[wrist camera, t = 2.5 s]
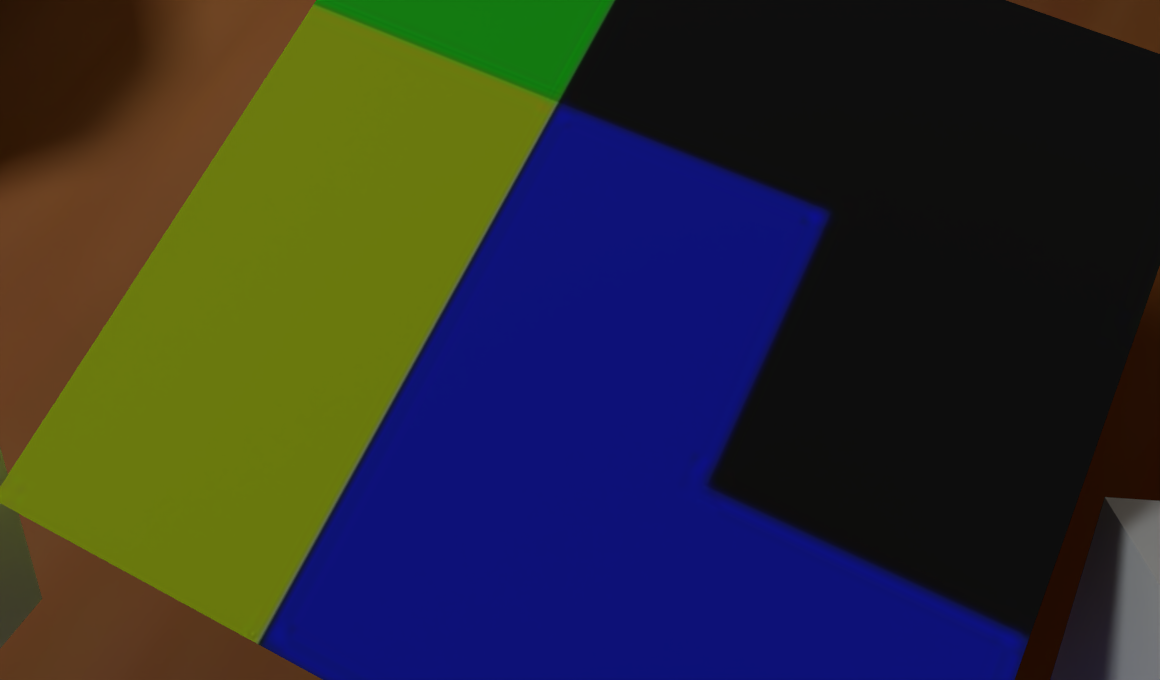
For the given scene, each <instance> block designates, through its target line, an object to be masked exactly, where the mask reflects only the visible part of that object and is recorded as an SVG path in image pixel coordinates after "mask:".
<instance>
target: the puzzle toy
mask: <svg viewBox="0 0 1160 680" xmlns="http://www.w3.org/2000/svg"><path fill="white" fill-rule="evenodd" d="M1159 266H1160V54H1158V53H1155V52H1152V51H1149V50H1146V49H1144V48H1141V47H1138V46H1135V45H1132V44H1129V43H1126V42H1124V41H1121V40H1118V39H1115V38H1112V37H1109V36H1106V35H1103V34H1101V33H1098V32H1095V31H1092V30H1089V29H1086V28H1083V27H1081V26H1078V25H1075V24H1072V23H1069V22H1066V21H1063V20H1060V19H1058V18H1055V17H1052V16H1049V15H1046V14H1043V13H1040V12H1037V11H1035V10H1032V9H1029V8H1026V7H1023V6H1020V5H1017V4H1015V3H1012V2H1009V1H1006V0H316V2H315V3H314V5H313V6H312V8H311V9H310V11H309V12H308V14H307V15H306V17H305V19H304V20H303V22H302V23H301V25H300V26H299V28H298V29H297V31H296V32H295V34H294V35H293V37H292V39H291V40H290V42H289V43H288V45H287V46H286V48H285V49H284V51H283V52H282V54H281V55H280V57H279V59H278V60H277V62H276V63H275V65H274V66H273V68H272V69H271V71H270V72H269V74H268V76H267V77H266V79H265V80H264V82H263V83H262V85H261V86H260V88H259V89H258V91H257V92H256V94H255V96H254V97H253V99H252V100H251V102H250V103H249V105H248V106H247V108H246V109H245V111H244V112H243V114H242V116H241V117H240V119H239V120H238V122H237V123H236V125H235V126H234V128H233V129H232V131H231V132H230V134H229V136H228V137H227V139H226V140H225V142H224V143H223V145H222V146H221V148H220V149H219V151H218V152H217V154H216V156H215V157H214V159H213V160H212V162H211V163H210V165H209V166H208V168H207V169H206V171H205V172H204V174H203V176H202V177H201V179H200V180H199V182H198V183H197V185H196V186H195V188H194V189H193V191H192V192H191V194H190V196H189V197H188V199H187V200H186V202H185V203H184V205H183V206H182V208H181V209H180V211H179V212H178V214H177V216H176V217H175V219H174V220H173V222H172V223H171V225H170V226H169V228H168V229H167V231H166V232H165V234H164V236H163V237H162V239H161V240H160V242H159V243H158V245H157V246H156V248H155V249H154V251H153V252H152V254H151V256H150V257H149V259H148V260H147V262H146V263H145V265H144V266H143V268H142V269H141V271H140V272H139V274H138V276H137V277H136V279H135V280H134V282H133V283H132V285H131V286H130V288H129V289H128V291H127V292H126V294H125V296H124V297H123V299H122V300H121V302H120V303H119V305H118V306H117V308H116V309H115V311H114V312H113V314H112V316H111V317H110V319H109V320H108V322H107V323H106V325H105V326H104V328H103V329H102V331H101V332H100V334H99V336H98V337H97V339H96V340H95V342H94V343H93V345H92V346H91V348H90V349H89V351H88V352H87V354H86V356H85V357H84V359H83V360H82V362H81V363H80V365H79V366H78V368H77V369H76V371H75V372H74V374H73V376H72V377H71V379H70V380H69V382H68V383H67V385H66V386H65V388H64V389H63V391H62V392H61V394H60V396H59V397H58V399H57V400H56V402H55V403H54V405H53V406H52V408H51V409H50V411H49V412H48V414H47V416H46V417H45V419H44V420H43V422H42V423H41V425H40V426H39V428H38V429H37V431H36V432H35V434H34V436H33V437H32V439H31V440H30V442H29V443H28V445H27V446H26V448H25V449H24V451H23V453H22V454H21V456H20V457H19V459H18V460H17V462H16V463H15V465H14V466H13V468H12V469H11V471H10V473H9V474H8V476H7V477H6V479H5V480H4V482H3V483H2V485H1V486H0V503H1V504H3V505H4V506H6V507H8V508H10V509H12V510H14V511H15V512H17V513H19V514H21V515H23V516H25V517H26V518H28V519H30V520H32V521H34V522H35V523H37V524H39V525H41V526H43V527H45V528H46V529H48V530H50V531H52V532H54V533H56V534H57V535H59V536H61V537H63V538H65V539H67V540H68V541H70V542H72V543H74V544H76V545H78V546H79V547H81V548H83V549H85V550H87V551H89V552H90V553H92V554H94V555H96V556H98V557H100V558H101V559H103V560H105V561H107V562H109V563H111V564H112V565H114V566H116V567H118V568H120V569H122V570H123V571H125V572H127V573H129V574H131V575H133V576H134V577H136V578H138V579H140V580H142V581H144V582H145V583H147V584H149V585H151V586H153V587H155V588H156V589H158V590H160V591H162V592H164V593H166V594H167V595H169V596H171V597H173V598H175V599H177V600H178V601H180V602H182V603H184V604H186V605H187V606H189V607H191V608H193V609H195V610H197V611H198V612H200V613H202V614H204V615H206V616H208V617H209V618H211V619H213V620H215V621H217V622H219V623H220V624H222V625H224V626H226V627H228V628H230V629H231V630H233V631H235V632H237V633H239V634H241V635H242V636H244V637H246V638H248V639H250V640H252V641H253V642H255V643H257V644H259V645H261V646H263V647H264V648H266V649H268V650H270V651H272V652H274V653H275V654H277V655H279V656H281V657H283V658H285V659H286V660H288V661H290V662H292V663H294V664H296V665H297V666H299V667H301V668H303V669H305V670H307V671H308V672H310V673H312V674H314V675H316V676H318V677H319V678H321V679H323V680H1015V677H1016V674H1017V671H1018V668H1019V666H1020V663H1021V660H1022V657H1023V654H1024V651H1025V648H1026V646H1027V643H1028V640H1029V637H1030V634H1031V631H1032V628H1033V626H1034V623H1035V620H1036V617H1037V614H1038V611H1039V608H1040V606H1041V603H1042V600H1043V597H1044V594H1045V591H1046V588H1047V586H1048V583H1049V580H1050V577H1051V574H1052V571H1053V568H1054V566H1055V563H1056V560H1057V557H1058V554H1059V551H1060V548H1061V546H1062V543H1063V540H1064V537H1065V534H1066V531H1067V528H1068V526H1069V523H1070V520H1071V517H1072V514H1073V511H1074V508H1075V506H1076V503H1077V500H1078V497H1079V494H1080V491H1081V488H1082V486H1083V483H1084V480H1085V477H1086V474H1087V471H1088V468H1089V466H1090V463H1091V460H1092V457H1093V454H1094V451H1095V449H1096V446H1097V443H1098V440H1099V437H1100V434H1101V431H1102V429H1103V426H1104V423H1105V420H1106V417H1107V414H1108V411H1109V409H1110V406H1111V403H1112V400H1113V397H1114V394H1115V391H1116V389H1117V386H1118V383H1119V380H1120V377H1121V374H1122V371H1123V369H1124V366H1125V363H1126V360H1127V357H1128V354H1129V351H1130V349H1131V346H1132V343H1133V340H1134V337H1135V334H1136V331H1137V329H1138V326H1139V323H1140V320H1141V317H1142V314H1143V311H1144V309H1145V306H1146V303H1147V300H1148V297H1149V294H1150V291H1151V289H1152V286H1153V283H1154V280H1155V277H1156V274H1157V271H1158V269H1159Z"/></svg>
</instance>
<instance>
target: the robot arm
mask: <svg viewBox="0 0 1160 680" xmlns="http://www.w3.org/2000/svg"><path fill="white" fill-rule="evenodd" d="M7 476H8V474H7V470H6V467H5V463H4V460H3V456H2V452H1V449H0V486H1V485H2V483H3V482H4V480H5V479H6V477H7ZM41 599H42V596H41V593H40V589H39V586H38V582H37V578H36V575H35V571H34V568H33V564H32V560H31V557H30V553H29V550H28V546H27V542H26V539H25V535H24V532H23V528H22V524H21V521H20V517H19V514H18V513H17V512H15V511H14V510H12V509H10V508H8V507H6V506H4V505H3V504H1V503H0V648H1V647H2V646H3V644H4V643H5V642H6V641H7V640H8V638H9V637H10V636H11V635H12V634H13V633H14V631H15V630H16V629H17V628H18V627H19V625H20V624H21V623H22V622H23V621H24V619H25V618H26V617H27V616H28V615H29V614H30V612H31V611H32V610H33V609H34V608H35V606H36V605H37V604H38V603H39V602H40V600H41ZM1050 680H1160V501H1155V500H1140V499H1126V498H1111V497H1105V498H1104V501H1103V505H1102V508H1101V511H1100V515H1099V518H1098V521H1097V525H1096V528H1095V532H1094V535H1093V538H1092V542H1091V545H1090V548H1089V552H1088V555H1087V558H1086V562H1085V565H1084V568H1083V572H1082V575H1081V578H1080V582H1079V585H1078V589H1077V592H1076V595H1075V599H1074V602H1073V605H1072V609H1071V612H1070V615H1069V619H1068V622H1067V625H1066V629H1065V632H1064V636H1063V639H1062V642H1061V646H1060V649H1059V652H1058V656H1057V659H1056V662H1055V666H1054V669H1053V672H1052V676H1051V679H1050Z"/></svg>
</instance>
